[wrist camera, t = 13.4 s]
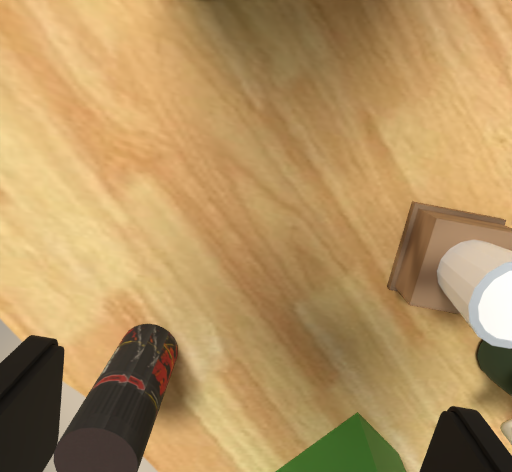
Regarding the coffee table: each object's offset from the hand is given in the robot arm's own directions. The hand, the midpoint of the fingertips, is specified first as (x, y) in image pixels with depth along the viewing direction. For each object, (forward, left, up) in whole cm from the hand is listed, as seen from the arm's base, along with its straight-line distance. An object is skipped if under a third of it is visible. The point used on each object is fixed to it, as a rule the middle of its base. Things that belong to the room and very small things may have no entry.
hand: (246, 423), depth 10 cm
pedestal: (+2, +19, -30) cm, 36 cm away
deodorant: (+18, -8, -31) cm, 36 cm away
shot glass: (+2, +19, -26) cm, 32 cm away
